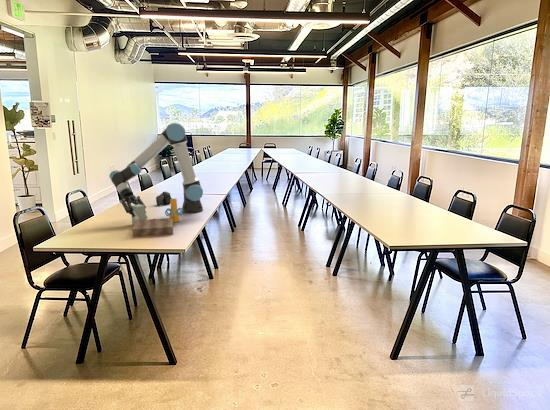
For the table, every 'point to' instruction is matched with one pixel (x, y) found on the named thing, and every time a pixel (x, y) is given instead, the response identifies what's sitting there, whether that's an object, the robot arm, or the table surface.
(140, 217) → the sage block
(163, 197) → the camera
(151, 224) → the walnut block
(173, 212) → the orange post with rings
